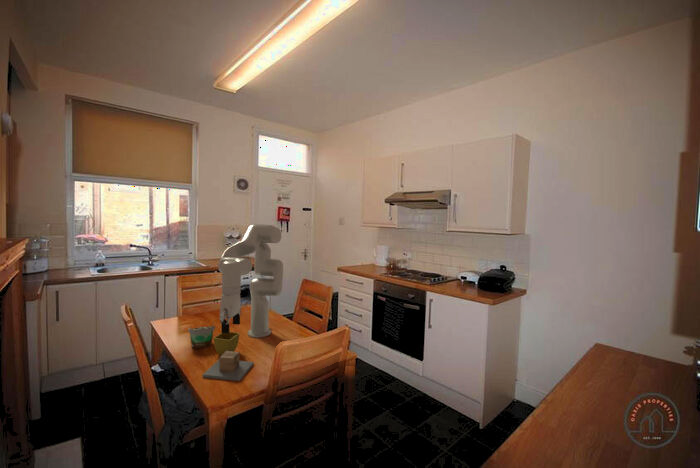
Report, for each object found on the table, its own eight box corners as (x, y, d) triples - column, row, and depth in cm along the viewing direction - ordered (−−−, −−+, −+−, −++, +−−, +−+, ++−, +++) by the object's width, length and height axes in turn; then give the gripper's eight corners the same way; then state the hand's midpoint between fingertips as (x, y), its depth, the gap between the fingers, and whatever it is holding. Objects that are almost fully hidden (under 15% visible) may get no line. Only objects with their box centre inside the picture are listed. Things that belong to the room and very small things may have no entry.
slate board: (220, 361, 145) (220, 358, 145) (253, 364, 143) (253, 361, 143) (202, 377, 131) (202, 374, 131) (239, 381, 129) (239, 378, 129)
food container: (188, 351, 153) (188, 331, 152) (188, 346, 158) (188, 327, 157) (215, 347, 158) (216, 328, 158) (214, 342, 164) (215, 324, 163)
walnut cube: (226, 363, 140) (226, 350, 140) (239, 365, 140) (239, 352, 139) (219, 370, 134) (219, 357, 134) (232, 372, 134) (232, 358, 133)
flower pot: (229, 358, 148) (229, 340, 147) (212, 356, 149) (213, 337, 149) (239, 350, 156) (239, 333, 155) (223, 348, 158) (224, 330, 157)
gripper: (232, 284, 144) (232, 320, 145) (212, 294, 127) (212, 335, 128) (248, 285, 143) (247, 321, 145) (229, 296, 126) (229, 337, 128)
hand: (231, 328), depth 136 cm, fingers open, 9 cm apart
